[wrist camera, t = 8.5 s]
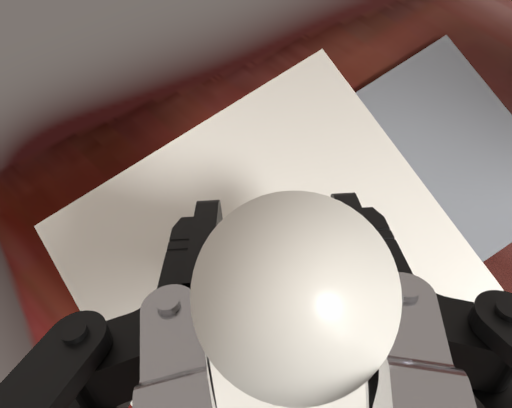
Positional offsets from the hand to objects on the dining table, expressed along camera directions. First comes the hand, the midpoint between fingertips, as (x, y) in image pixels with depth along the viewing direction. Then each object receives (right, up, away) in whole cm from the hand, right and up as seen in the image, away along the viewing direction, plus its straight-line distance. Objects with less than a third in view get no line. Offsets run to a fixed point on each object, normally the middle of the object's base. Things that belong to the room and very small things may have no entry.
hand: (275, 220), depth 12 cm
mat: (+13, +3, +19) cm, 23 cm away
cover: (0, -3, +4) cm, 5 cm away
